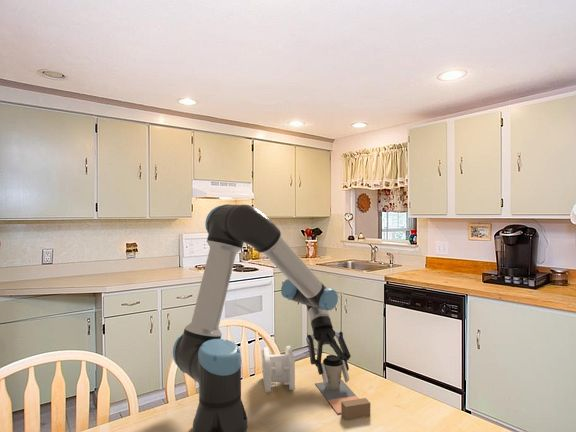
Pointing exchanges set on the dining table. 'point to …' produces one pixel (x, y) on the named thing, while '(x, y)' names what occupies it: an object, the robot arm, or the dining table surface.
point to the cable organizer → (278, 368)
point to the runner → (335, 392)
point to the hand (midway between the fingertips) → (336, 382)
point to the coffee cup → (333, 371)
